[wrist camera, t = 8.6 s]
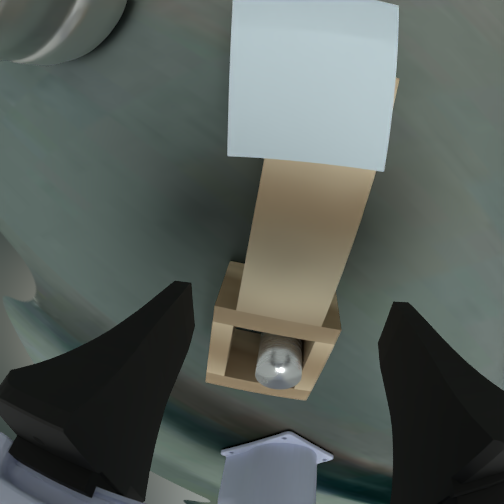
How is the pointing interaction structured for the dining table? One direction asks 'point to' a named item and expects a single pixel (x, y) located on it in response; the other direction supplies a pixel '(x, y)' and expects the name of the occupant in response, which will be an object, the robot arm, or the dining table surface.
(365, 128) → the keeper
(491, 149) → the dining table surface
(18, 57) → the plastic bottle
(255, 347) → the link
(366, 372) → the dining table surface
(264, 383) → the pintle
